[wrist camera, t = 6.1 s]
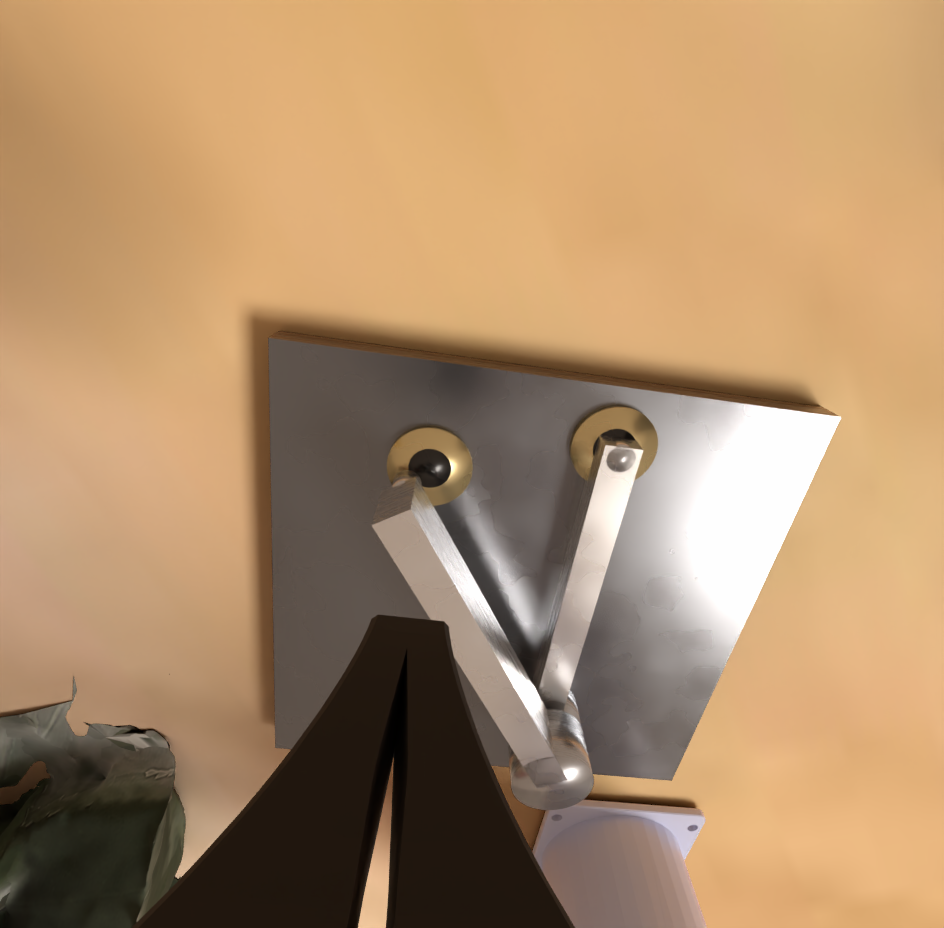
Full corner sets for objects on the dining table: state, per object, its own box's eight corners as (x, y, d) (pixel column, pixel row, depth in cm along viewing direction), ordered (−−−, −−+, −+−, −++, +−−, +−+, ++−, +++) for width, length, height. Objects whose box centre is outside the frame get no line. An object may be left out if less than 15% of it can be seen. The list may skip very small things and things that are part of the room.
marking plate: (664, 760, 26) (679, 802, 24) (282, 727, 24) (267, 769, 22) (821, 407, 18) (862, 428, 16) (279, 330, 17) (256, 345, 15)
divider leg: (588, 730, 22) (604, 796, 20) (522, 751, 23) (529, 818, 20) (443, 452, 17) (440, 495, 14) (359, 488, 17) (341, 535, 15)
